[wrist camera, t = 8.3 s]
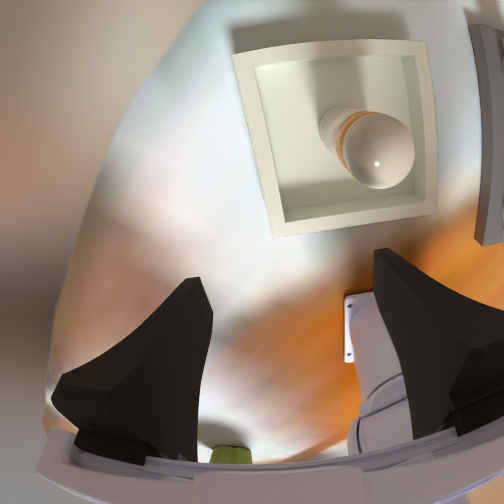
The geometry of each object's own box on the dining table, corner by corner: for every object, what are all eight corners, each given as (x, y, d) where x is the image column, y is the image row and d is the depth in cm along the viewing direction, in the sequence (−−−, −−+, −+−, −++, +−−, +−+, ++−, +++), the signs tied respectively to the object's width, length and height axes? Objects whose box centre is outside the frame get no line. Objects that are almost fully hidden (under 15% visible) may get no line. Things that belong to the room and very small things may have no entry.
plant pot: (193, 450, 48) (184, 497, 38) (217, 435, 42) (209, 493, 33) (244, 463, 50) (240, 508, 41) (275, 449, 45) (274, 502, 35)
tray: (421, 200, 20) (436, 213, 18) (272, 221, 22) (272, 238, 20) (407, 45, 14) (424, 41, 12) (236, 59, 16) (231, 55, 14)
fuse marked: (371, 152, 18) (416, 184, 12) (323, 159, 19) (349, 194, 13) (364, 102, 16) (411, 111, 10) (313, 108, 17) (338, 118, 11)
